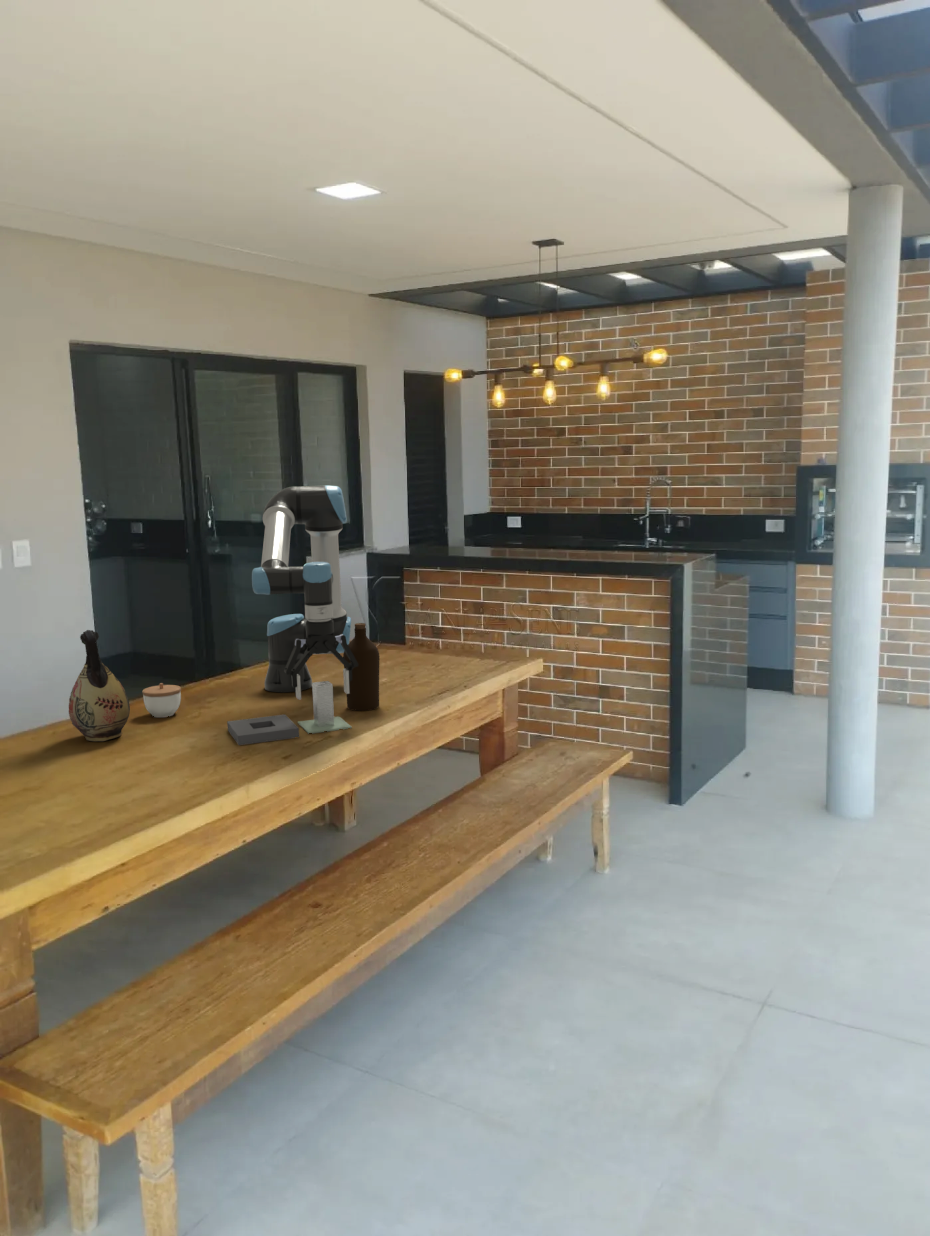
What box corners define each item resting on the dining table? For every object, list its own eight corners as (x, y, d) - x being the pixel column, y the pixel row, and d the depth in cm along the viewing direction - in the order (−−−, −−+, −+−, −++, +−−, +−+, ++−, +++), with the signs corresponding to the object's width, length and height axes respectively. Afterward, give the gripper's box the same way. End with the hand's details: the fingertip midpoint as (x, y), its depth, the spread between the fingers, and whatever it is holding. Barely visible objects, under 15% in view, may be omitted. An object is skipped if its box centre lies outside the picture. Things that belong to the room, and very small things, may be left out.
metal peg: (314, 723, 277) (312, 682, 276) (329, 721, 279) (328, 680, 277) (318, 727, 273) (316, 686, 271) (334, 725, 275) (332, 684, 273)
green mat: (297, 723, 279) (297, 721, 279) (339, 718, 284) (339, 716, 284) (308, 734, 269) (308, 732, 268) (351, 728, 273) (351, 726, 273)
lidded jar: (190, 712, 295) (188, 680, 293) (165, 721, 285) (162, 688, 284) (161, 708, 299) (159, 678, 298) (136, 717, 290) (133, 686, 288)
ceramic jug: (70, 734, 274) (60, 626, 269) (129, 727, 280) (120, 621, 275) (72, 750, 258) (62, 636, 253) (135, 742, 264) (126, 630, 259)
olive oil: (379, 711, 291) (376, 626, 287) (343, 712, 291) (339, 627, 287) (382, 702, 301) (379, 620, 297) (347, 703, 301) (344, 621, 297)
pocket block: (227, 730, 274) (227, 721, 274) (285, 723, 280) (284, 714, 280) (238, 745, 259) (238, 735, 259) (299, 737, 266) (298, 728, 265)
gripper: (276, 625, 263) (281, 704, 267) (367, 617, 273) (370, 693, 277) (270, 621, 270) (274, 697, 274) (359, 613, 280) (362, 687, 283)
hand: (322, 695), depth 275 cm, fingers open, 13 cm apart
